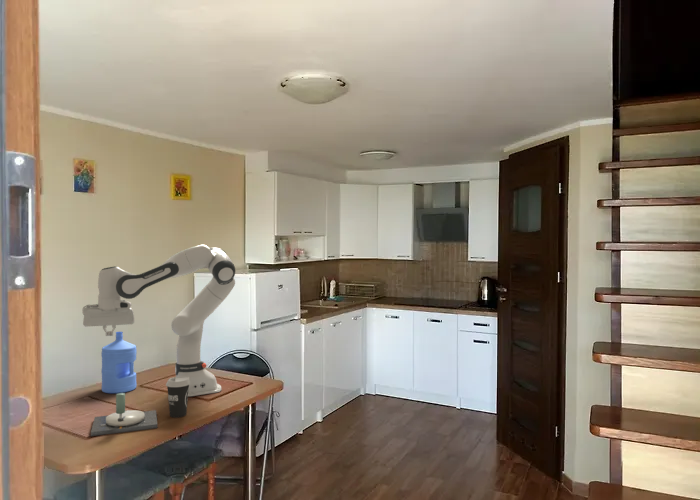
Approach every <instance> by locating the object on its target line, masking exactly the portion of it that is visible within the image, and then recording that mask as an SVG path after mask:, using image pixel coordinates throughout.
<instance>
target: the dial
mask: <svg viewBox="0 0 700 500" xmlns="http://www.w3.org/2000/svg"><path fill="white" fill-rule="evenodd" d="M106 416H107V417H106V424H107V425H110V426H128V425H133V424H136V423H139V422H141V421H143V420H144V418H145V413H144V411H141V410H137V409H133V410H131V409H130V410H128V409H127V410H126V392H124V393H115V412H112V413H110V414H109V415H106Z"/></svg>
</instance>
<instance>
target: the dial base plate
mask: <svg viewBox="0 0 700 500" xmlns="http://www.w3.org/2000/svg"><path fill="white" fill-rule="evenodd" d="M143 412H144V413H145V418H144V420H143V421H141V422H139V423H136V424H133V425H128V426H110V425H107V424H106V417H107V416H108V415H101V416H94V418H93V421H92V422H93V423H92V426H91V430H90V437H95V436H104V435H112V434H113V435H114V434H119V433H120V434H121V433H122V434H123V433H128V432H135V431H143V430H153V429H158V417H157V409H155V410H154V409H153V410H145V411H144V410H143Z"/></svg>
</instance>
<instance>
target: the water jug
mask: <svg viewBox="0 0 700 500" xmlns="http://www.w3.org/2000/svg"><path fill="white" fill-rule="evenodd" d="M123 337H124V335H123V331H115V340H114V341H113V342H110V343H108V344H107V345H104V346H103V347H102V348H101V391H102V392H103V393H105V394H118V393H129V392H131V391H134V390H135V389H136V388H137V373H136V371H134V369H135V368H134V367H135V366H134V364H135V363H134V362H135V361H136V360H137V346H136V344H133V343H131V342H128V341H126V340H124V339H123Z"/></svg>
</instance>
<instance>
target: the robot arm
mask: <svg viewBox="0 0 700 500" xmlns="http://www.w3.org/2000/svg"><path fill="white" fill-rule="evenodd" d="M235 266H236V265H234V263H233V260H232V259H231V258H230V256H229V255H228V254H227V252H226V251H225V250H223V249H222V248H219V247H209V246H207V245H206V244H200V245H196V246H191V247H188V248H186V249H183V250H180V251H179V252H177V253H174V254H172V255H171V256H170V257H169V258H167V259H166V260H165V261H164V262H163V263H161V264H159V266H157V267H154V268H152V269H149V270H147V271H145V272H141V273H140V274H136V273H132V272H129V271H126V270H124V269H122V268H120V267H119V266H117V265H116V266H114V265H113V266H108V267H104V268H102V269H101V270H100V271H99V273H98V277H97V278H98V281H97V288H98V295H97V304H86V305H85V306H83V307H82V314H83V320H82V321H83V323H82V324H83V327H85V328H88V327H102V330H103V331H104V332H105V337H111V336H112V337H113V336H114V332H115V330H116V327H117V326H124V325H126V326H127V325H128V326H129V325H133V324H135V313H134V310H133V308H132V302H131V301H128V300H130V299H135V298H137V296H139V295H140V294H141V293H142V292H143V291H144V290H145V289H147V288H149V287H151V286H153V285H155V284H158V283H160V282H163V281H165V280H168V279H173V278H180V277H184V276H188V275H190V274H193V273H195V272H197V271H198V270H202V269H203V270H204V269H207V270H208V271H209V273H211V275H212V278H211V280H210V281H209V282H208V283H206V285H205V286H204V287H203V288H202V289H201V290H200V291H199V293H197V295H196V296H195V297H194V298H193V299H192V300H191V301H190V302H188V304H186V305H185V307H183V308H182V309H181V310H180V312H178V313H177V315H175V317H174V318H173V320H172V321H171V330H172V332H173V333H174V334H175V335H177V336H178V341H177V345H176V360H175V361H176V362H175V364H174V365H175V366H174V367H175V368H174V370H175V371H174V372H175V377H187V378H188V380H189V381H190V384H189V390H188V397H195V396H200V395H201V396H202V395H208V394H215V393H219V392H221V391H222V385H221V384H219V383H218V382H217V378H216V376H215V375H214V373H212V372H211V371H209V370H207V369H206V368H207V364H206V362H204V361H202V360H201V348H202V347H201V344H202V338H203V337H202V336H203V331H204V330H203V329H204V324H205V321H206V319H208V318H209V316H211V315H212V314H213V313H214V311H216V309H217V308H218V307H219V306H220V305H221V304H222V303H223V302H224V300H226V299H227V297H228V296H229V295H230V294H231V292H232V290H233V289H234V287H235V284H236V279H235V278H234V277H236V267H235ZM121 298H122V299H121ZM125 299H126V300H125ZM108 326H111V327H112V330H110V331H109V330H107V327H108Z"/></svg>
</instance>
